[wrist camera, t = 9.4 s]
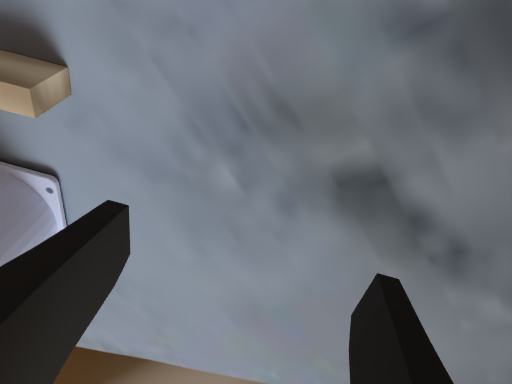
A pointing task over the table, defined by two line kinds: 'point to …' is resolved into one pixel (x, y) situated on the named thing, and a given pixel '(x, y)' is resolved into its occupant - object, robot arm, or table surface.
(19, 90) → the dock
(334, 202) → the table surface
